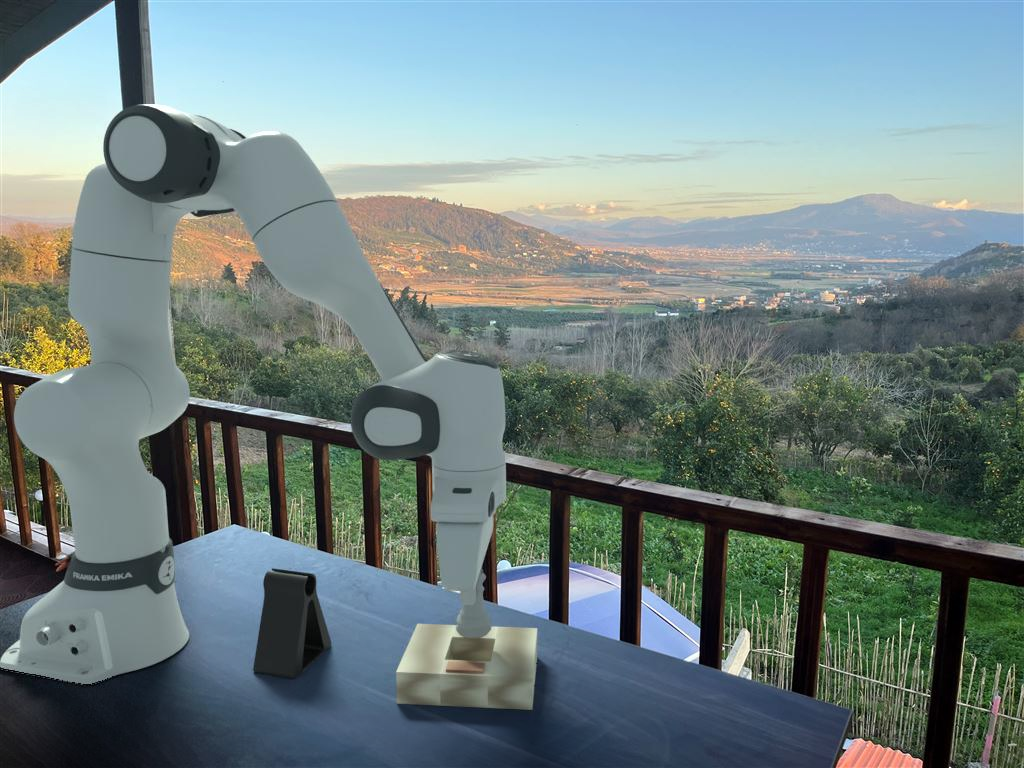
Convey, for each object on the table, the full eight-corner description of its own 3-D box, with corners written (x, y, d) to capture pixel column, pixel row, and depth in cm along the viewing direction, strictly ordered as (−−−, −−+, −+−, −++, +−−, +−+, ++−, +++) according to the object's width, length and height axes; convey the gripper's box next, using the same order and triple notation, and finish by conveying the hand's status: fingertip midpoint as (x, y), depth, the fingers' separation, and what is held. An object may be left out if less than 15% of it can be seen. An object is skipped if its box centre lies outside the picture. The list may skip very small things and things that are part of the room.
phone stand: (293, 639, 101) (289, 557, 100) (331, 645, 100) (328, 562, 98) (252, 672, 93) (247, 583, 91) (293, 680, 91) (289, 589, 89)
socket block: (396, 703, 86) (396, 669, 85) (418, 651, 98) (417, 621, 97) (532, 709, 85) (532, 675, 84) (537, 656, 97) (537, 626, 96)
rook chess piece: (486, 641, 88) (485, 578, 87) (451, 638, 89) (449, 575, 88) (495, 624, 92) (494, 564, 91) (461, 621, 93) (460, 561, 92)
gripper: (456, 463, 98) (458, 561, 100) (427, 512, 78) (430, 633, 80) (503, 464, 98) (504, 562, 100) (485, 513, 77) (487, 635, 79)
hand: (471, 594), depth 90 cm, fingers closed on rook chess piece, 3 cm apart
